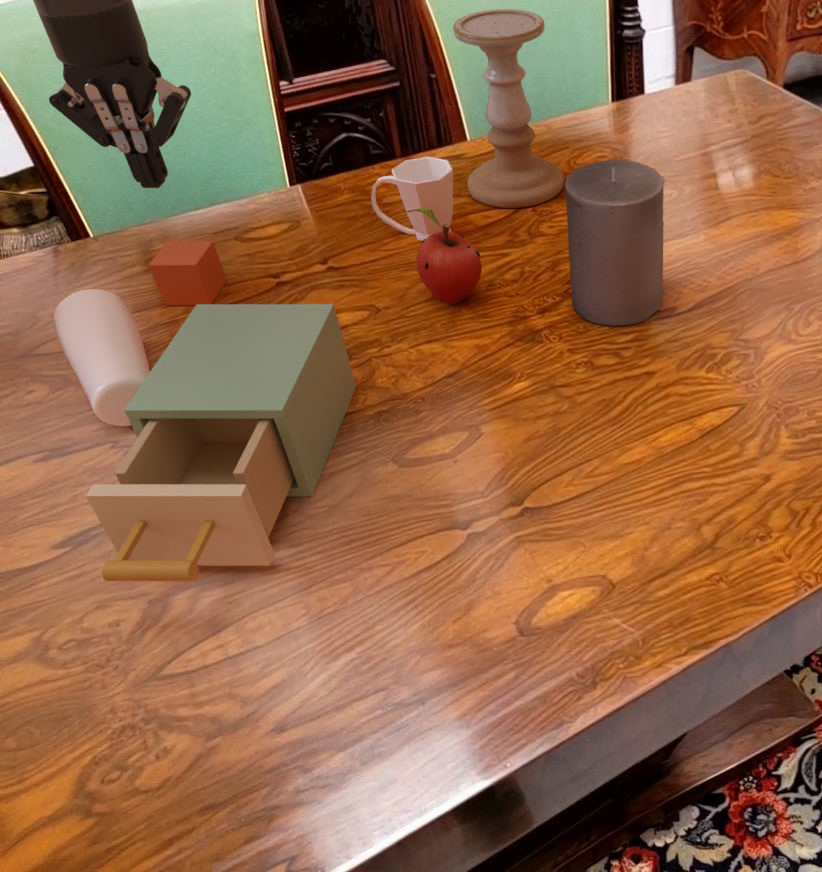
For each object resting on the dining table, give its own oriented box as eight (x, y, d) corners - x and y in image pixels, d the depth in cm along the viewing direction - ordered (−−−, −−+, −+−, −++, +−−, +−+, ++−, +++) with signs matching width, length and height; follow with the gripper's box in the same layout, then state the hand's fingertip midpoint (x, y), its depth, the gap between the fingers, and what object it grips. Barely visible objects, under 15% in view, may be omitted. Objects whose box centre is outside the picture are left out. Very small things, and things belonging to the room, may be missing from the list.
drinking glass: (136, 446, 86) (102, 358, 94) (185, 393, 85) (146, 309, 94) (65, 417, 80) (36, 326, 89) (117, 360, 80) (82, 275, 89)
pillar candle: (564, 284, 102) (554, 153, 92) (651, 272, 103) (650, 141, 94) (582, 334, 95) (573, 197, 85) (675, 319, 96) (677, 183, 86)
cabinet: (312, 496, 77) (282, 409, 71) (165, 496, 78) (123, 410, 72) (356, 386, 89) (333, 303, 82) (228, 386, 89) (196, 304, 83)
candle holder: (495, 218, 113) (473, 48, 100) (452, 181, 121) (426, 18, 108) (582, 192, 118) (572, 26, 105) (536, 157, 126) (521, -1, 113)
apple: (491, 280, 103) (479, 196, 96) (481, 314, 97) (468, 228, 91) (421, 280, 103) (405, 196, 96) (408, 314, 98) (390, 228, 91)
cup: (457, 248, 108) (446, 183, 103) (371, 247, 108) (357, 183, 103) (467, 219, 113) (458, 155, 108) (386, 218, 114) (373, 155, 108)
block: (164, 305, 100) (147, 264, 96) (182, 281, 104) (167, 240, 100) (211, 305, 100) (195, 264, 96) (227, 280, 103) (213, 240, 100)
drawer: (246, 621, 67) (213, 551, 62) (93, 620, 67) (48, 551, 62) (319, 446, 81) (297, 378, 76) (192, 446, 81) (162, 378, 76)
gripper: (175, -15, 84) (233, 168, 95) (31, -14, 84) (106, 168, 96) (138, 12, 78) (205, 202, 89) (-16, 13, 79) (70, 202, 90)
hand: (154, 184), depth 92 cm, fingers closed
